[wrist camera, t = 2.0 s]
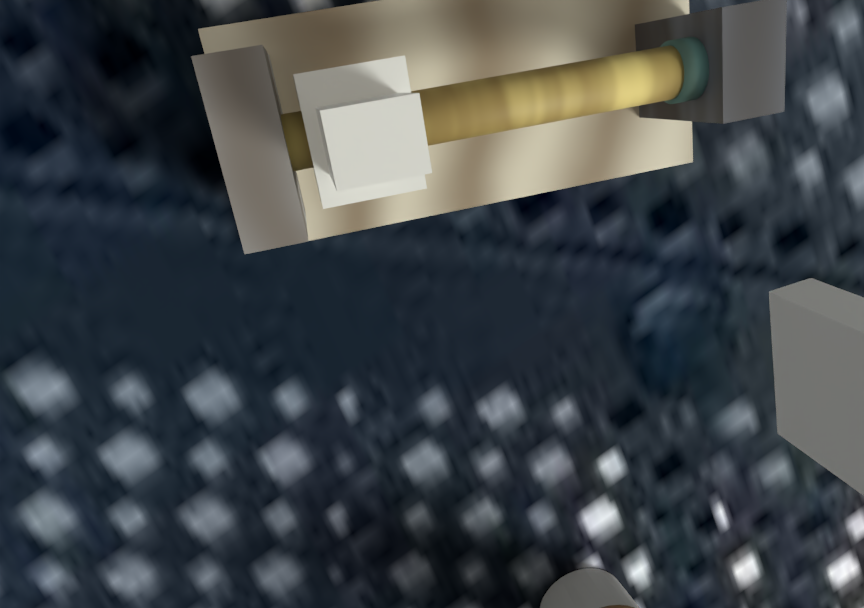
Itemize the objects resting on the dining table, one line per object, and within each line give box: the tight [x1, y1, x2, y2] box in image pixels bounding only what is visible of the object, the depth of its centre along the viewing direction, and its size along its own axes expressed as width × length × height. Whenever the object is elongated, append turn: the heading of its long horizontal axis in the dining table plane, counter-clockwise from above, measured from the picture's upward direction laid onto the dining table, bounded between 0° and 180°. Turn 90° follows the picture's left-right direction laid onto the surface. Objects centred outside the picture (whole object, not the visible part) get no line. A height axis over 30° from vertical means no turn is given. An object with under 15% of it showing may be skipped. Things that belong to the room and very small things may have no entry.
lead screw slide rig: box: [191, 0, 787, 254], centre depth 28 cm, size 23×10×8 cm, turn 99°
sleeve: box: [293, 55, 432, 209], centre depth 24 cm, size 4×5×9 cm
